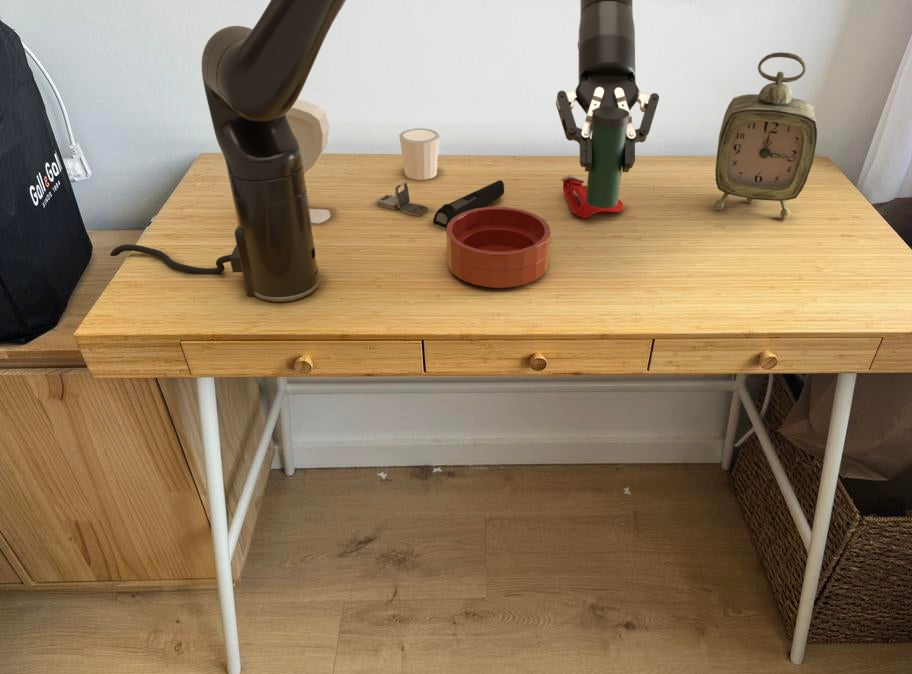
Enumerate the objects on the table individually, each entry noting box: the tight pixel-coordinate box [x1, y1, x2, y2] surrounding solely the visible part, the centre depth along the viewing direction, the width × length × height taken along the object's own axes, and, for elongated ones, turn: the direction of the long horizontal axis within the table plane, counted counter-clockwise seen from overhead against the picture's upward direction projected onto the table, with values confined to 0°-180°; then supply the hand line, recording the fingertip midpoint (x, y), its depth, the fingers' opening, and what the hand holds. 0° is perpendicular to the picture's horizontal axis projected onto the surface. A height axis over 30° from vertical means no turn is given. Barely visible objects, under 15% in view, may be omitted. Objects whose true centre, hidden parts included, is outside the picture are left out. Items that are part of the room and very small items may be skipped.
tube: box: [586, 106, 629, 208], centre depth 108 cm, size 5×5×12 cm
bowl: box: [445, 206, 551, 289], centre depth 117 cm, size 15×15×6 cm
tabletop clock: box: [713, 51, 818, 219], centre depth 129 cm, size 14×9×25 cm, turn 76°
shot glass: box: [399, 127, 440, 181], centre depth 142 cm, size 7×7×7 cm
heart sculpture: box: [286, 98, 331, 225], centre depth 125 cm, size 16×5×18 cm, turn 85°
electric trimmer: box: [432, 179, 505, 230], centre depth 132 cm, size 4×16×3 cm, turn 142°
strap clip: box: [376, 181, 429, 216], centre depth 132 cm, size 8×3×4 cm, turn 62°
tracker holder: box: [560, 175, 624, 219], centre depth 134 cm, size 12×4×10 cm
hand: (607, 169), depth 107 cm, fingers closed on tube, 4 cm apart
